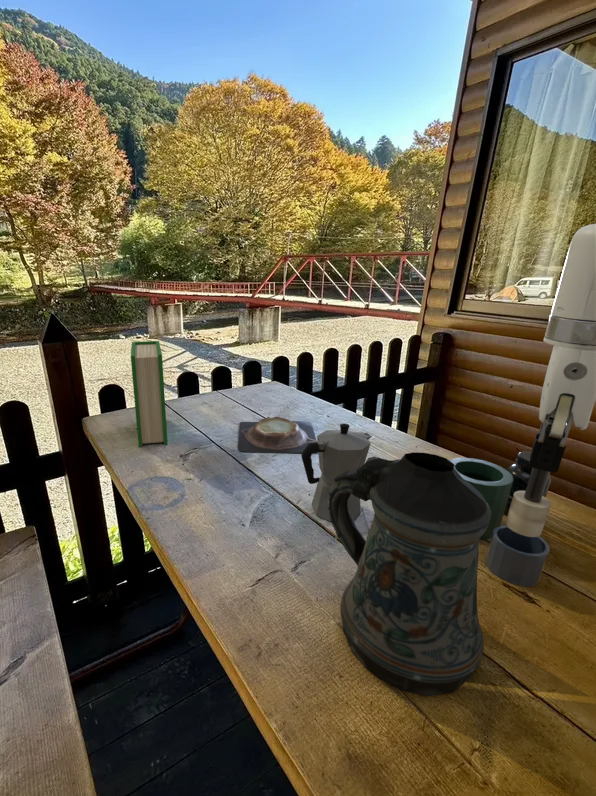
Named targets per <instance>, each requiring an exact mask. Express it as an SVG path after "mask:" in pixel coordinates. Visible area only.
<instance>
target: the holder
mask: <svg viewBox="0 0 596 796" xmlns="http://www.w3.org/2000/svg"><path fill="white" fill-rule="evenodd" d="M550 552H551V549H550V545H549V543H548V542H547V540H545V538H542V537H541V536H538V537H528V536H524V535H520V534H518V533H516V532H514V531H512V530H511V529H509V528H508V527H507V525H500V526H499V527H497V528H495V529H494V530H493V533H492V537H491V538H490V540H489V545H488V548H487V552H486V555H485V566H486V567H487V569H488V570H489V571H490V573H492V574H493V575H495V576H496V577H497V578H499V579H500V580H503V581H505V582H507V583H510V584H512V585H515V586H520V587H533V586H536V585H538V583H539V582H540V581H541V579H542V575H543V573H544V569H545V567H546V563H547V561H548V557H549V555H550Z"/></svg>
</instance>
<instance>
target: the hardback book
mask: <svg viewBox="0 0 596 796" xmlns="http://www.w3.org/2000/svg"><path fill="white" fill-rule="evenodd" d="M163 361H164V360H163V352H162V347H161V344H160V340H148V341H147V340H146V341H145V340H144V341H131V347H130V363H131V364H130V365H131V374H132V386H133V387H132V388H133V400H134V409H135V420H136V421H135V423H136V431H137V433H136V434H137V443H138V448H143V444H154V443H155V444H156V443H163V446H168V429H167V414H166V412H167V411H166V396H165V395H166V394H165V382H164V381H165V379H164V365H163Z"/></svg>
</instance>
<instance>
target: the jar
mask: <svg viewBox="0 0 596 796" xmlns="http://www.w3.org/2000/svg"><path fill="white" fill-rule="evenodd" d="M448 460H449V461H451V462H452V463H453V464H454V469H455V470H456V471H457V472H458V473H459V475H460V476H461V477H462V478H463V479H464V480H465V481H466V482H468V483H469V484H471V485H472V486H473V487H474V488H475V489H476V490H477V491H478V492H479V493H480V494H481V495H482V496H483V497H484V499H485V501H486V502H487V503H488V505H489V507H490V510H491V519H490V523H489V525H488V527H487V529H486V531H485V533H484V534H483V535H482V536H481V537H480V538H479V540H491V537H492V533H493V530H494V529H495V528H497V527H499V526H502V523H503V522H502V521H503V518H504V516H505V515H504V511H505V508H506V504H507V501H508V497H509V494H510V490H511V486H512V483H513V477H512V475H511V474H510V473H509V472H508V471H507V469H506V468H504V467H503V466H500V465H499V464H495V463H493V462H491V461H487V460H484V459H479V458H474V457H456V458H452V459H448Z"/></svg>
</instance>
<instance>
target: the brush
mask: <svg viewBox="0 0 596 796" xmlns="http://www.w3.org/2000/svg"><path fill="white" fill-rule="evenodd" d="M548 428H551V427H550V426H548ZM548 428H547V429H548ZM550 474H551V472H548V471H543V470H539V469H535V468H532V471H531V474H530V478H529V481H528V484H527V488H526V491H517V492H515V493H514V495H513V499H512V502H511V506H510V509H509V512H508V516H506V520H505V526H507V527H508V528H509V529H511V530H512V531H514V532H516V533H518V534H520V535H524V536H528V537H538V536H539V537H541V535H542V534H543V530H544V528H545V524H546V522H547V519H548V515H549V513H550V510H551V506H552V503H551V501H550V499H549V498H547V497H546V498H545V497H543V493H544V489H545V486H546V483H547V480H548V477H549V476H550Z"/></svg>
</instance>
